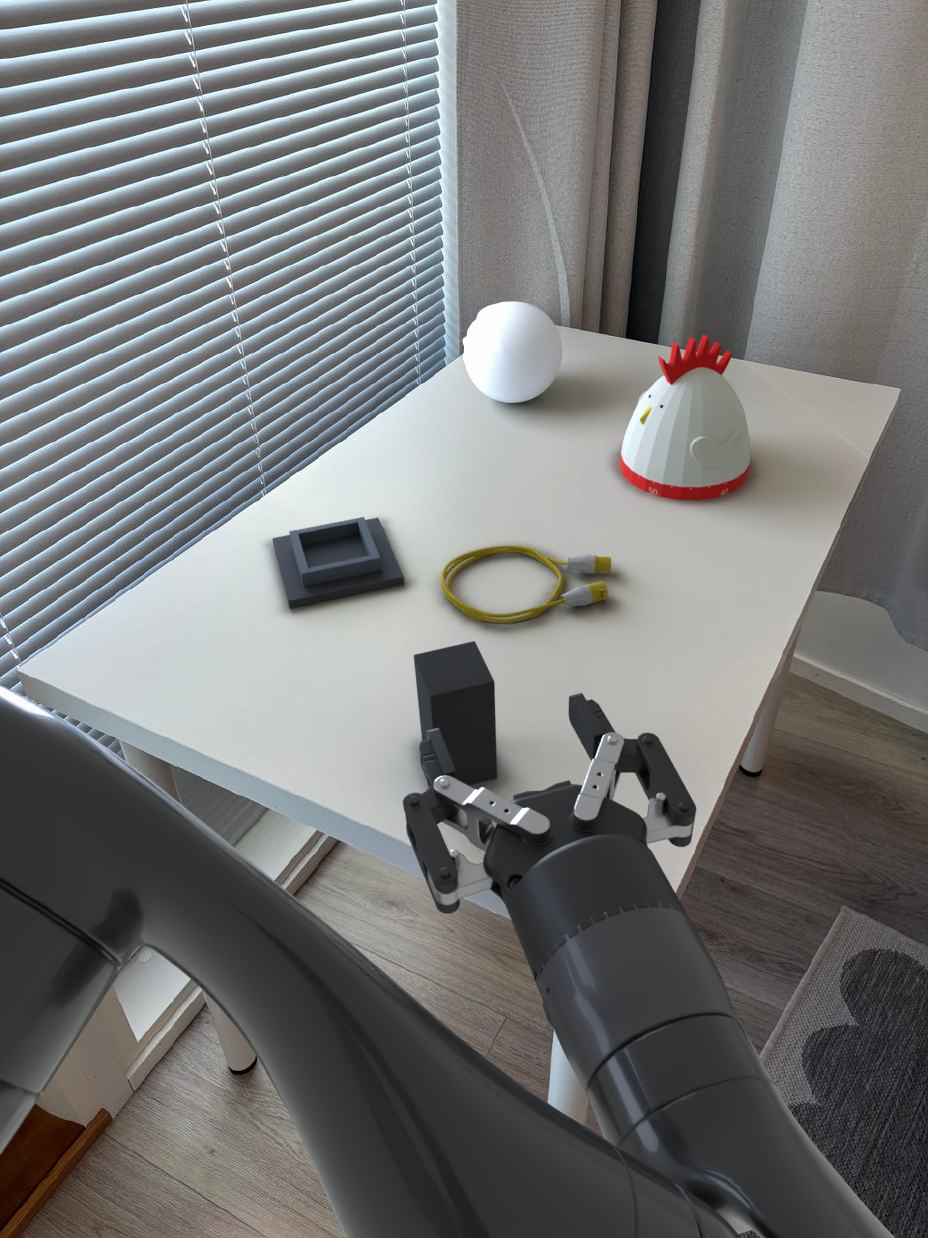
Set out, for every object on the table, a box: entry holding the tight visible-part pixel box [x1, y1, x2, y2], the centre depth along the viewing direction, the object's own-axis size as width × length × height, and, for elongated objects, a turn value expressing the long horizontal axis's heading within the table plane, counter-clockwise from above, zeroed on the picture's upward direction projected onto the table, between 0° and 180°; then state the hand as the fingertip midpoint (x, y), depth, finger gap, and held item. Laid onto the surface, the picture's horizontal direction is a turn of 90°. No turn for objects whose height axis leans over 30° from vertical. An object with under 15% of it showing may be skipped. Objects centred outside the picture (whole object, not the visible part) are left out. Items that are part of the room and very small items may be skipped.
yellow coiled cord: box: [440, 545, 612, 624], centre depth 89 cm, size 12×16×2 cm
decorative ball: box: [462, 300, 563, 404], centre depth 116 cm, size 12×12×12 cm
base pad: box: [271, 516, 405, 610], centre depth 93 cm, size 11×11×2 cm
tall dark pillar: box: [413, 640, 498, 786], centre depth 69 cm, size 5×5×10 cm
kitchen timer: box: [619, 334, 751, 501], centre depth 100 cm, size 14×14×15 cm
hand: (504, 721), depth 54 cm, fingers open, 8 cm apart
